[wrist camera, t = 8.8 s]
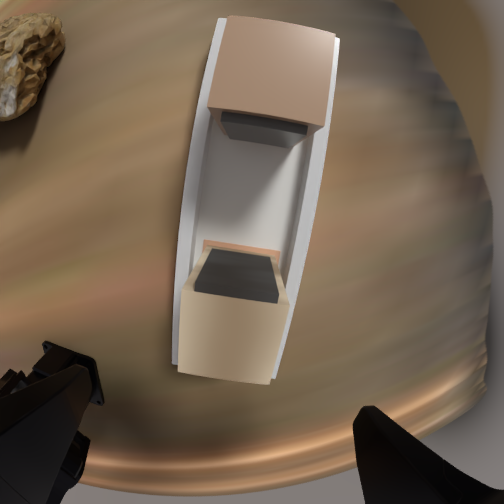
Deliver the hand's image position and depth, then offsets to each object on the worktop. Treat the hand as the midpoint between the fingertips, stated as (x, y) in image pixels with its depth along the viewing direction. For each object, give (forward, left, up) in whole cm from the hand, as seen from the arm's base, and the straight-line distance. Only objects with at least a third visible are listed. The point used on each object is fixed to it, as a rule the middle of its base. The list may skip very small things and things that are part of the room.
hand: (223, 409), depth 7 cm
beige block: (0, 0, -11) cm, 11 cm away
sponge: (+14, +27, -12) cm, 33 cm away
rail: (+5, 0, -12) cm, 13 cm away
